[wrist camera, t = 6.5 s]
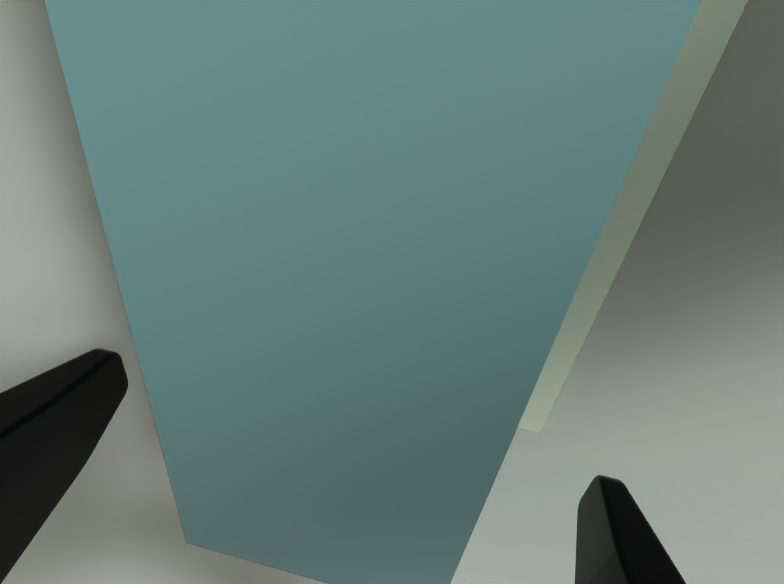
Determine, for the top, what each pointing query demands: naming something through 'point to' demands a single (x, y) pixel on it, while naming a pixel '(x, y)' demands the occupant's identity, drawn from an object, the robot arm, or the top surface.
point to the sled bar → (352, 245)
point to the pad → (636, 194)
